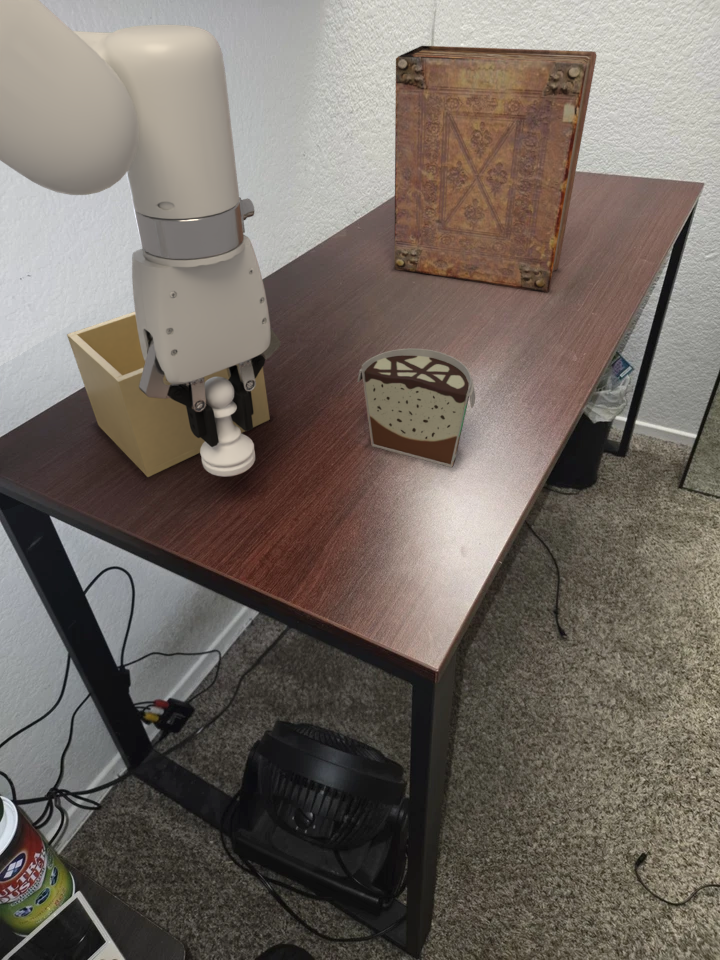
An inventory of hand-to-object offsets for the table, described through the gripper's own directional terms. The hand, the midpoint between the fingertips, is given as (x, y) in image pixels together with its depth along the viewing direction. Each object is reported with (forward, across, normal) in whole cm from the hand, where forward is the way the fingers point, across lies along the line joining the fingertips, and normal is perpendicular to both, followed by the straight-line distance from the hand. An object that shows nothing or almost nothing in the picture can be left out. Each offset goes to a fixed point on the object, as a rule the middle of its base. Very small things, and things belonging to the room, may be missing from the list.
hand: (224, 430), depth 60 cm
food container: (+8, -21, +5) cm, 23 cm away
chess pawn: (+4, 0, 0) cm, 4 cm away
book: (+8, -60, -22) cm, 64 cm away
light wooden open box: (+9, -3, -16) cm, 18 cm away
